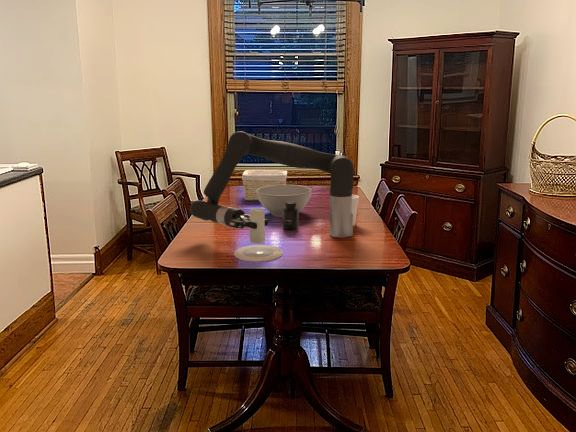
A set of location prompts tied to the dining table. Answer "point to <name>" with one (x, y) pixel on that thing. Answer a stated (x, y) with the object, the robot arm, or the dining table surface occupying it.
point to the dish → (258, 253)
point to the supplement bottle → (290, 216)
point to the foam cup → (354, 207)
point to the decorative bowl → (282, 197)
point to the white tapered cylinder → (259, 233)
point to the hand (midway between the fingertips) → (262, 224)
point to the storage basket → (261, 181)
